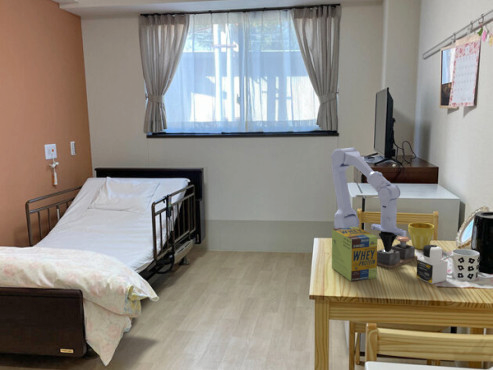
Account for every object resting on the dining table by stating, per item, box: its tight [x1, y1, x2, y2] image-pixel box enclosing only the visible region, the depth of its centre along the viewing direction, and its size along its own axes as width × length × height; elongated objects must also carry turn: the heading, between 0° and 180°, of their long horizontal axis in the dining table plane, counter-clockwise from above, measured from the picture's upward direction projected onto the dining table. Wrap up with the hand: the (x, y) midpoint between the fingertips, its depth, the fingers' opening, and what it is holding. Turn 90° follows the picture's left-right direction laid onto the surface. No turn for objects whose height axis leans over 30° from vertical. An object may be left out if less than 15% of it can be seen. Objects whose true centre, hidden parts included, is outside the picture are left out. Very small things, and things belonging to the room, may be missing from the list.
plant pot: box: [407, 221, 435, 250], centre depth 185 cm, size 10×10×10 cm
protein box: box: [331, 226, 378, 282], centre depth 158 cm, size 10×15×16 cm
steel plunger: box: [381, 248, 394, 255], centre depth 166 cm, size 4×4×4 cm
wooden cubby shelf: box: [377, 242, 418, 270], centre depth 169 cm, size 18×8×5 cm, turn 126°
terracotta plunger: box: [396, 235, 410, 249], centre depth 172 cm, size 4×4×4 cm
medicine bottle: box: [416, 244, 448, 285], centre depth 150 cm, size 7×7×12 cm
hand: (387, 250), depth 166 cm, fingers closed, pressing on steel plunger
